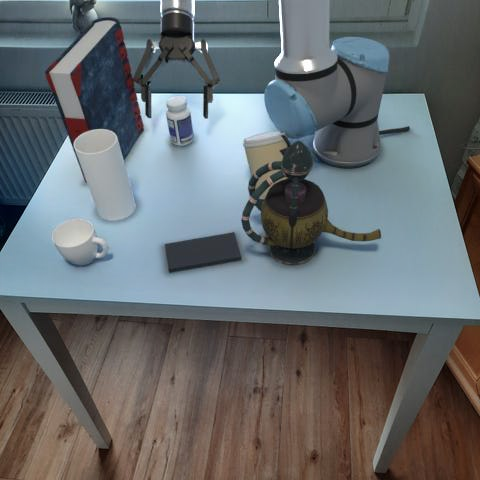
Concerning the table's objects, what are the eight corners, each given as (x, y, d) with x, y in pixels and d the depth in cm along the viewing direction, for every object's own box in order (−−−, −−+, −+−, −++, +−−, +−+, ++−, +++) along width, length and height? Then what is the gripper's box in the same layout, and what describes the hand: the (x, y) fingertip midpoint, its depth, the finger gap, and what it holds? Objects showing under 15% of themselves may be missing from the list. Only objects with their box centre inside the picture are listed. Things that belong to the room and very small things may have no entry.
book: (123, 123, 121) (95, 15, 102) (148, 125, 120) (125, 16, 100) (83, 183, 107) (41, 71, 87) (111, 186, 106) (75, 73, 86)
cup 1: (141, 198, 103) (124, 131, 90) (126, 223, 98) (105, 156, 85) (107, 193, 104) (85, 126, 91) (91, 217, 99) (65, 150, 87)
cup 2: (74, 241, 95) (63, 216, 90) (120, 248, 94) (111, 222, 88) (57, 269, 91) (44, 244, 85) (105, 276, 89) (94, 251, 84)
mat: (234, 235, 94) (234, 231, 94) (241, 260, 90) (241, 256, 89) (165, 247, 93) (164, 243, 92) (169, 272, 89) (168, 269, 88)
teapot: (250, 224, 96) (246, 117, 77) (375, 232, 93) (402, 122, 75) (242, 267, 89) (236, 161, 70) (377, 277, 86) (408, 168, 67)
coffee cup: (299, 194, 96) (290, 132, 91) (254, 203, 97) (243, 143, 91) (292, 184, 105) (284, 128, 99) (251, 193, 105) (241, 137, 100)
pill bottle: (195, 133, 117) (190, 94, 109) (192, 146, 114) (186, 107, 106) (173, 133, 117) (166, 94, 110) (168, 146, 114) (161, 107, 106)
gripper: (233, 26, 110) (231, 121, 113) (128, 26, 112) (129, 120, 115) (230, 10, 103) (228, 112, 106) (118, 10, 104) (119, 111, 108)
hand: (176, 117), depth 110 cm, fingers open, 13 cm apart
